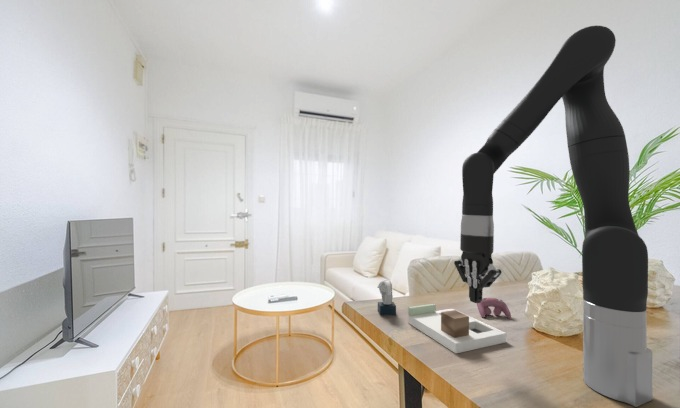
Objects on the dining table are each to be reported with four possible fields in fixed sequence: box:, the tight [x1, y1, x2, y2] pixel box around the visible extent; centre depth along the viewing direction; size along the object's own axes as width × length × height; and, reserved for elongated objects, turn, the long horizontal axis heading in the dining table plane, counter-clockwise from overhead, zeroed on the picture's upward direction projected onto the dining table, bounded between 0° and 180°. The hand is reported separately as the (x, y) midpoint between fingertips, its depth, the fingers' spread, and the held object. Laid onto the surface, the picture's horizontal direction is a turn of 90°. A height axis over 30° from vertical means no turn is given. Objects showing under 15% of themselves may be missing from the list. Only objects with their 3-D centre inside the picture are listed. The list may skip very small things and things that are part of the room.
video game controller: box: [476, 297, 512, 320], centre depth 96 cm, size 10×5×7 cm, turn 85°
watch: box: [377, 280, 397, 316], centre depth 97 cm, size 6×8×11 cm
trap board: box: [407, 303, 507, 354], centre depth 82 cm, size 20×18×5 cm
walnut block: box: [441, 309, 469, 338], centre depth 76 cm, size 5×5×5 cm
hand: (475, 301), depth 70 cm, fingers closed
